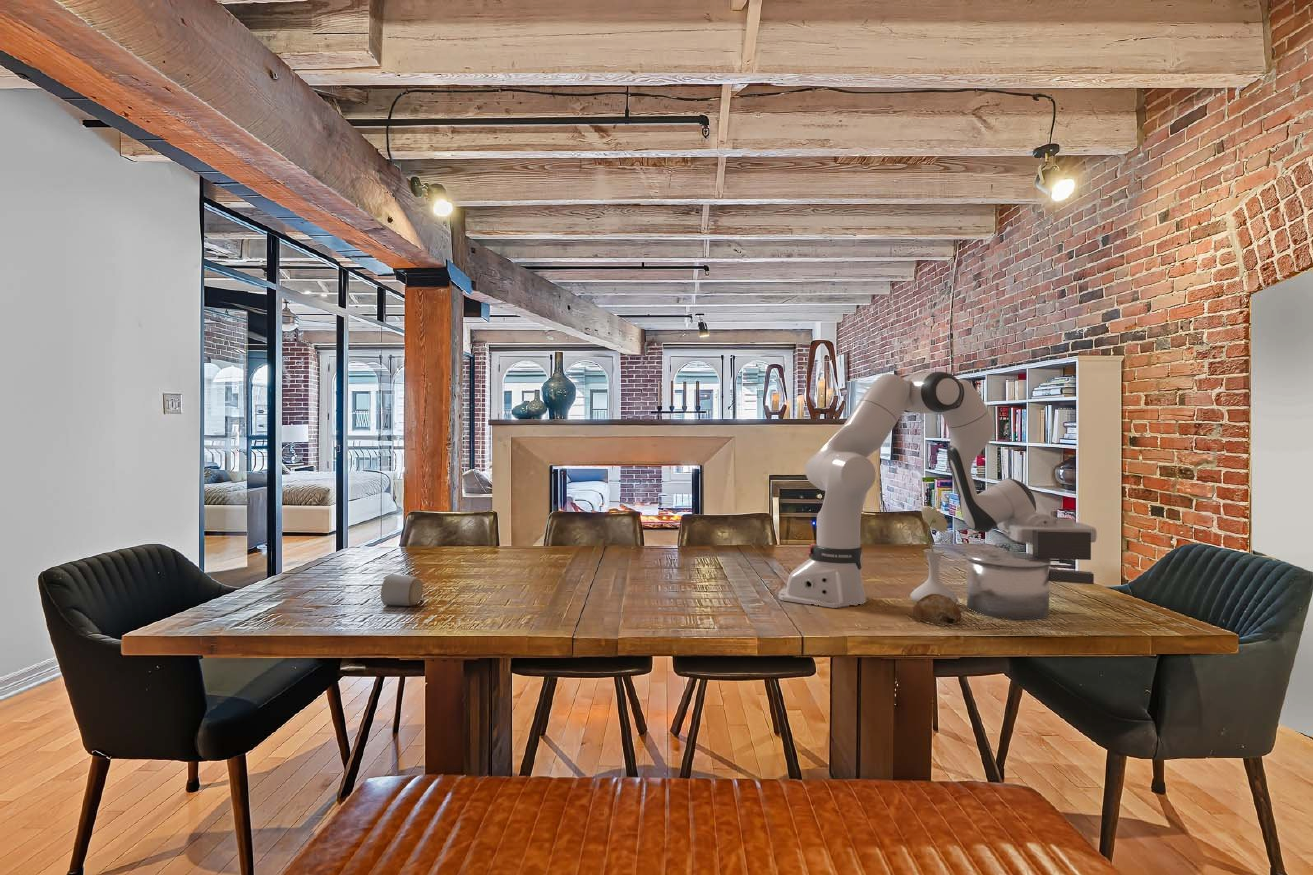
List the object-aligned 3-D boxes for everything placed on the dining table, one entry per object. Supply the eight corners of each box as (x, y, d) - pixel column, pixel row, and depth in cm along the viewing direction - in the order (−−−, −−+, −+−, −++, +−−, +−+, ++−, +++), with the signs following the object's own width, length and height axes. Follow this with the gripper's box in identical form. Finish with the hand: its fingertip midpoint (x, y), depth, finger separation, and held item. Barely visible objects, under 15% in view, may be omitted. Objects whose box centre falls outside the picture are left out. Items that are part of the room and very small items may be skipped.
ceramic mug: (411, 609, 166) (411, 578, 166) (379, 608, 167) (380, 577, 167) (430, 599, 176) (430, 570, 177) (400, 598, 177) (400, 569, 177)
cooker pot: (968, 615, 161) (969, 565, 161) (964, 598, 178) (965, 553, 178) (1101, 628, 151) (1101, 574, 151) (1083, 608, 168) (1084, 560, 167)
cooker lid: (980, 567, 158) (980, 534, 158) (956, 553, 176) (956, 524, 176) (1108, 570, 154) (1108, 537, 154) (1069, 555, 173) (1069, 526, 172)
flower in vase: (966, 610, 166) (966, 509, 165) (919, 610, 166) (920, 509, 166) (944, 597, 179) (945, 504, 178) (901, 597, 179) (901, 503, 179)
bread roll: (926, 641, 153) (936, 613, 150) (901, 611, 162) (910, 584, 159) (963, 637, 156) (973, 610, 152) (936, 608, 165) (946, 582, 161)
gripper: (999, 518, 179) (1027, 525, 166) (1076, 518, 179) (1111, 525, 165) (999, 541, 179) (1027, 551, 166) (1076, 541, 179) (1110, 551, 165)
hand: (1069, 538), depth 165 cm, fingers closed
